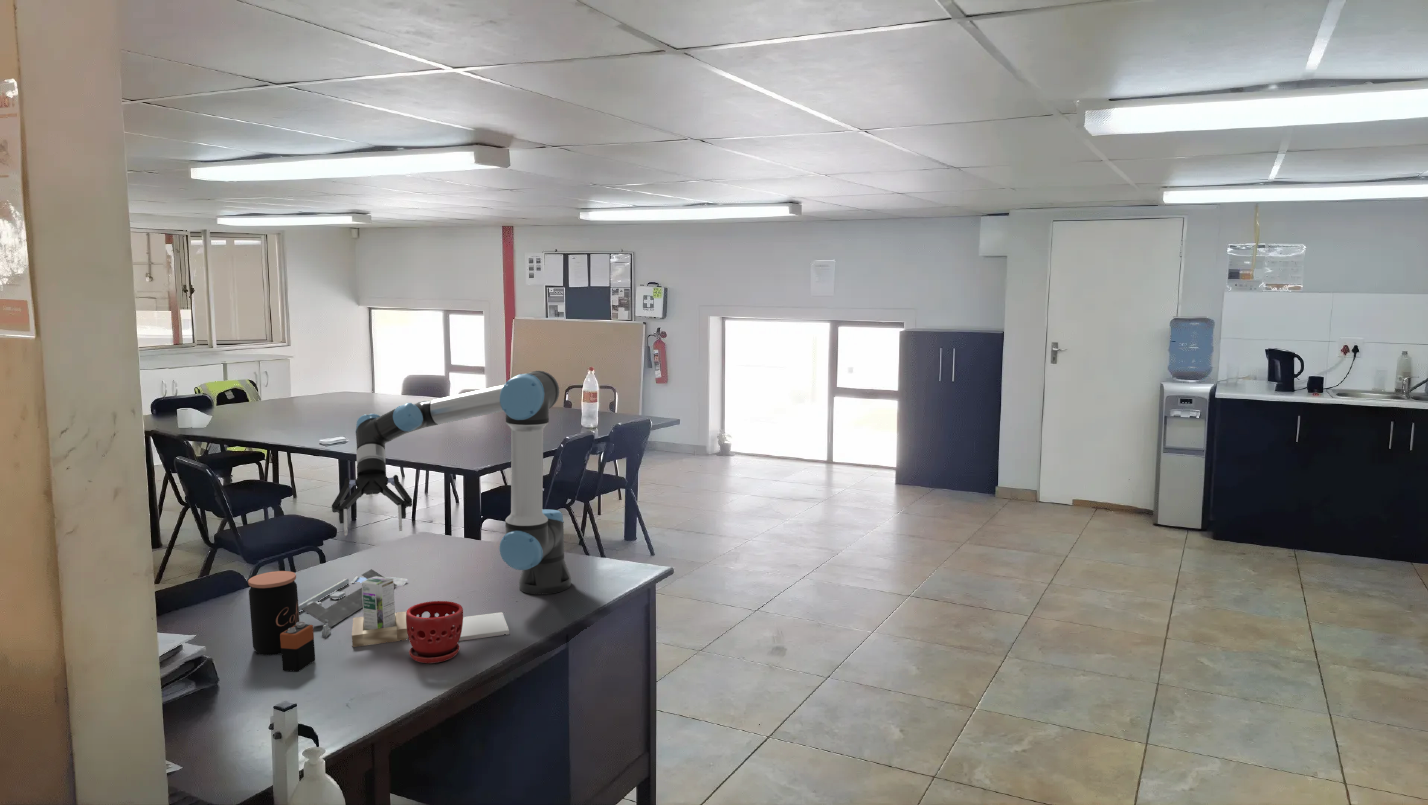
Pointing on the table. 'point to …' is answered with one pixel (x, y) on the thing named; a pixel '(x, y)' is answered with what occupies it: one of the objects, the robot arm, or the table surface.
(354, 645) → the wooden holder
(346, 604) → the paper cutter
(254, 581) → the coffee jar
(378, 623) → the syrup box
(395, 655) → the table surface
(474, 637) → the white mat
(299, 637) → the battery
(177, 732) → the table surface
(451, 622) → the plant pot
